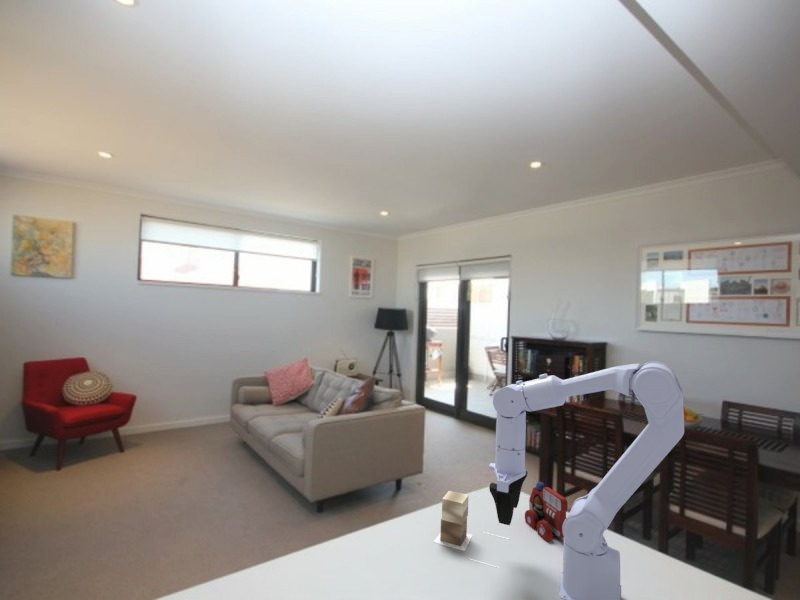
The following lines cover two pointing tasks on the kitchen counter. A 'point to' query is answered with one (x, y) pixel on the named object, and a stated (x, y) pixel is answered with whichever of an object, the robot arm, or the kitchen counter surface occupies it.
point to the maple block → (455, 507)
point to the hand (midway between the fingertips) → (508, 514)
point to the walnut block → (453, 532)
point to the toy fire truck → (546, 512)
